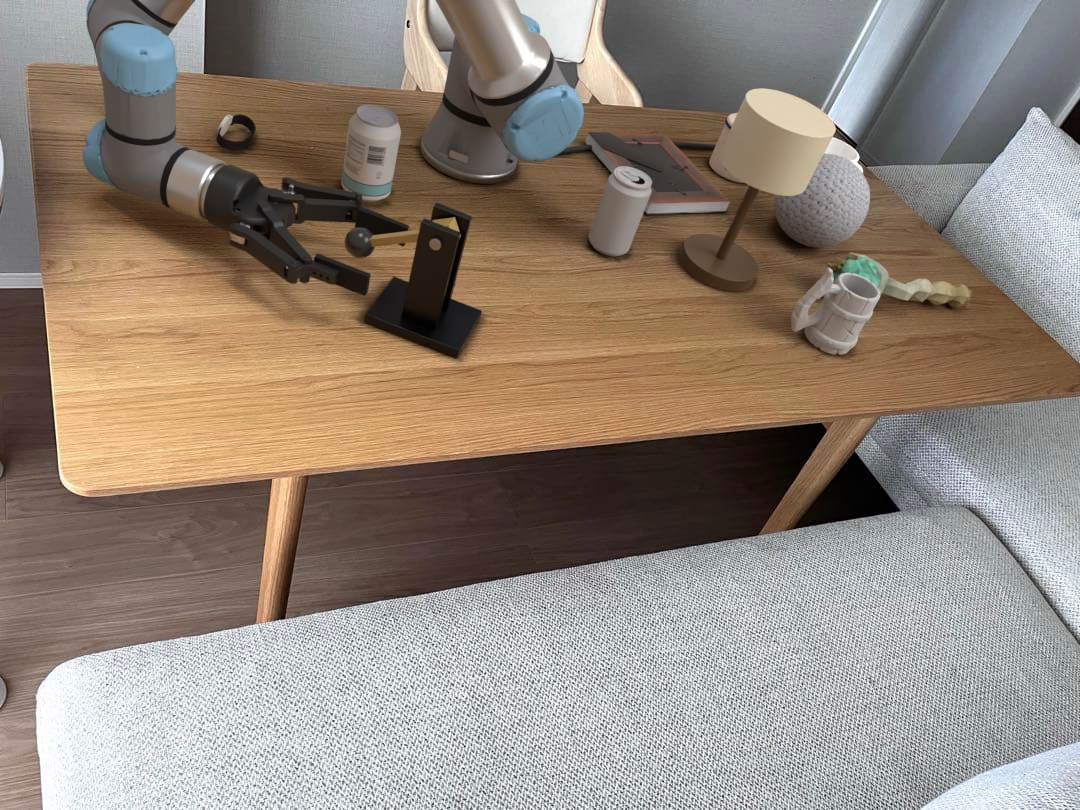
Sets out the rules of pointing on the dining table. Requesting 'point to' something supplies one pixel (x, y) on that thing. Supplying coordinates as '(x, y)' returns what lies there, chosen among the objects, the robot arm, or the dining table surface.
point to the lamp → (759, 176)
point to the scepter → (890, 287)
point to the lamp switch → (384, 238)
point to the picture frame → (660, 172)
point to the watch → (227, 123)
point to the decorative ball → (826, 204)
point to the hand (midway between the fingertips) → (388, 259)
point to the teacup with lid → (715, 157)
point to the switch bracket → (430, 290)
